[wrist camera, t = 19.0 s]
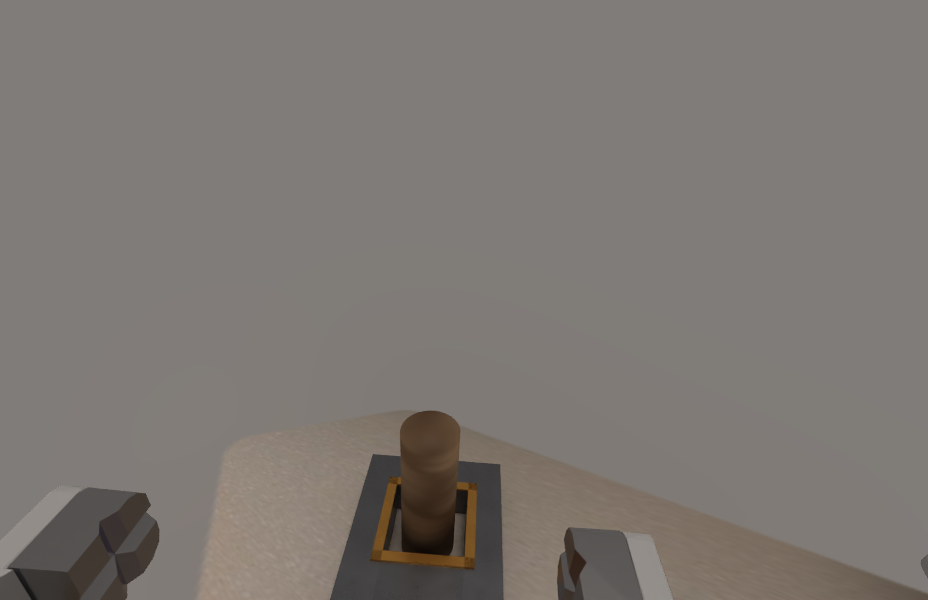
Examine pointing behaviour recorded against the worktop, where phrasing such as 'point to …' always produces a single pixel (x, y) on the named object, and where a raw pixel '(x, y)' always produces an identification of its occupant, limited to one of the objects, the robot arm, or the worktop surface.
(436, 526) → the peg
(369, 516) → the grey slotted board
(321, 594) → the worktop surface
